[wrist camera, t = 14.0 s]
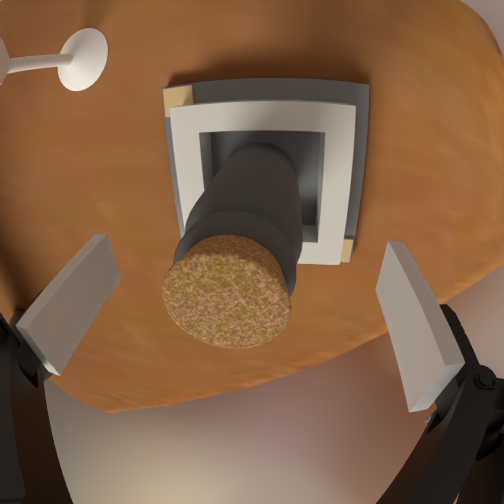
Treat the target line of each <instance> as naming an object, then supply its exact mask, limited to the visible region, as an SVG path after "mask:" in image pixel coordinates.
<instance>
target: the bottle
mask: <svg viewBox="0 0 504 504" xmlns="http://www.w3.org/2000/svg"><path fill="white" fill-rule="evenodd" d="M302 244H303V230H302V218H301V207H300V197H299V188H298V179H297V172H296V169H295V166H294V163H293V161H292V160H291V158H290V157H289V156H288V155H287V154H286V153H285V152H284V151H283V150H282V149H280V148H278V147H276V146H274V145H272V144H268V143H252V144H248V145H246V146H243V147H241V148H240V149H238V150H237V151H236V152H235V153H234V154H233V155H232V156H231V157H230V158H229V159H228V160H227V162H226V163H225V164H224V166H223V167H222V168H221V169H220V171H219V172H218V173H217V175H216V176H215V177H214V179H213V180H212V181H211V183H210V184H209V185H208V187H207V188H206V189H205V191H204V192H203V193H202V195H201V196H200V198H199V199H198V200H197V202H196V203H195V205H194V207H193V208H192V210H191V211H190V213H189V216H188V218H187V221H186V225H185V234H184V236H183V237H182V239H181V240H180V242H179V244H178V246H177V248H176V251H175V255H174V262H173V266H172V267H171V268H170V269H169V270H168V272H167V274H166V276H165V279H164V282H163V285H162V296H163V301H164V304H165V307H166V309H167V311H168V313H169V315H170V316H171V318H172V319H173V320H174V321H175V322H176V323H177V325H178V326H179V327H181V328H182V329H183V330H184V331H185V332H187V333H188V334H190V335H191V336H193V337H195V338H196V339H198V340H201V341H203V342H205V343H208V344H211V345H215V346H218V347H224V348H250V347H254V346H258V345H261V344H264V343H266V342H268V341H270V340H272V339H273V338H275V337H276V336H277V335H278V334H279V333H280V332H281V331H282V330H283V329H284V327H285V326H286V324H287V322H288V320H289V317H290V313H291V301H290V296H291V294H292V292H293V290H294V287H295V283H296V264H297V262H298V260H299V258H300V255H301V252H302Z"/></svg>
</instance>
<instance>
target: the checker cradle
mask: <svg viewBox="0 0 504 504" xmlns="http://www.w3.org/2000/svg"><path fill="white" fill-rule="evenodd" d="M162 93H163V105H164V116H165V126H166V135H167V144H168V153H169V161H170V168H171V176H172V183H173V190H174V197H175V203H176V210H177V216H178V222H179V228H180V234H181V239H182V237H183V236H184V234H185V225H186V221H187V218H188V216H189V213H190V211H191V210H192V208H193V207H194V205H195V203H196V202H197V200H198V199H199V198H200V196H201V195H202V193H203V192H204V191H205V189H206V188H207V187H208V185H209V184H210V183H211V181H212V180H213V179H214V177H215V176H216V175H217V173H218V172H219V171H220V169H221V168H222V167H223V166H224V164H225V163H226V162H227V160H228V159H229V158H230V157H231V156H232V155H233V154H234V153H235V152H236V151H237V150H238V149H240V148H241V147H243V146H246V145H248V144H252V143H268V144H272V145H274V146H276V147H278V148H280V149H282V150H283V151H284V152H285V153H286V154H287V155H288V156H289V157H290V158H291V160H292V161H293V163H294V166H295V169H296V172H297V179H298V188H299V197H300V207H301V218H302V230H303V244H302V252H301V255H300V258H299V260H298V262H297V263H299V264H328V265H340V262H351V257H352V252H353V246H354V240H355V234H356V228H357V222H358V215H359V208H360V201H361V193H362V185H363V176H364V166H365V156H366V144H367V130H368V112H369V84H362V83H354V82H345V81H335V80H322V79H306V78H243V79H226V80H214V81H204V82H195V83H187V84H179V85H172V86H166V87H162Z"/></svg>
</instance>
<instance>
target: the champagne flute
mask: <svg viewBox="0 0 504 504" xmlns="http://www.w3.org/2000/svg"><path fill="white" fill-rule="evenodd" d="M107 56H108V45H107V41H106V39H105V37H104V35H103V34H102V33H101V32H100V31H99V30H97V29H94V28H86V29H82V30H80V31H78V32H76V33H75V34H73V35H72V36H71V37H70V38H69V39H68V40H67V42H66V43H65V44H64V46H63V48H62V50H61V53H60V54H52V55H38V56H28V57H19V58H11V59H9V55H8V53H7V50H6V47H5V45H4V42H3V40H2V39H1V37H0V86H1V84H2V83H3V81H4V79H5V77H6V75H7V74H8V73H13V72H19V71H25V70H31V69H38V68H47V67H56V66H58V75H59V78H60V80H61V82H62V84H63V85H64V86H65V87H66V88H67V89H70V90H72V91H81V90H84V89H86V88H88V87H89V86H91V85H92V84H93V83H94V82H95V81H96V80H97V79H98V78H99V76H100V75H101V73H102V71H103V69H104V67H105V65H106V61H107Z"/></svg>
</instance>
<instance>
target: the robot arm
mask: <svg viewBox="0 0 504 504" xmlns="http://www.w3.org/2000/svg"><path fill="white" fill-rule="evenodd" d="M120 280H121V277H120V274H119V272H118V269H117V266H116V263H115V259H114V256H113V253H112V250H111V247H110V243H109V240H108V237H107V234H95V235H94V236H93V237H92V238H91V239H90V240H89V241H88V242H87V243H86V244H85V245H84V246H83V247H82V248H81V249H80V250H79V251H78V252H77V254H76V255H75V256H74V257H73V258H72V259H71V260H70V261H69V262H68V263H67V264H66V265H65V266H64V267H63V269H62V270H61V271H60V272H59V273H58V274H57V275H56V276H55V278H54V279H53V280H52V281H51V282H50V283H49V284H48V286H47V287H46V288H45V289H43V290H42V291H41V292H40V293H39V294H38V295H37V297H36V298H35V299H34V301H32V303H31V304H30V305H29V307H28V308H27V309H26V310H25V311H22V310H18V311H16V312H15V314H14V315H13V316H12V318H11V319H10V323H9V325H8V323H7V322H6V320H5V319H4V317H3V315H2V314H1V313H0V504H73V502H72V499H71V497H70V494H69V491H68V488H67V486H66V482H65V480H64V476H63V473H62V470H61V467H60V463H59V460H58V456H57V452H56V448H55V445H54V440H53V436H52V432H51V427H50V422H49V416H48V411H47V405H46V399H45V391H44V384H43V383H44V381H45V380H46V379H47V378H49V377H50V376H51V375H52V374H53V373H54V374H56V375H59V376H61V374H62V372H63V371H64V369H65V367H66V365H67V363H68V362H69V360H70V358H71V357H72V355H73V353H74V351H75V350H76V348H77V346H78V345H79V343H80V341H81V340H82V338H83V336H84V335H85V333H86V331H87V330H88V328H89V327H90V325H91V323H92V322H93V320H94V319H95V317H96V316H97V314H98V313H99V311H100V309H101V308H102V306H103V305H104V303H105V302H106V300H107V299H108V297H109V296H110V294H111V293H112V291H113V290H114V289H115V287H116V286H117V284H118V283H119V281H120ZM375 290H376V293H377V296H378V299H379V302H380V305H381V308H382V311H383V315H384V318H385V321H386V324H387V327H388V331H389V334H390V337H391V341H392V344H393V348H394V351H395V355H396V359H397V363H398V366H399V370H400V374H401V378H402V382H403V387H404V391H405V395H406V400H407V404H408V409H409V412H413V411H419V410H425V409H428V408H429V406H430V405H431V404H432V403H433V402H434V401H435V403H436V406H437V409H436V410H435V411H434V412H433V413H432V414H431V415H430V416H429V417H428V418H427V420H426V421H425V422H424V423H428V422H429V423H428V425H427V426H426V428H425V430H424V432H423V434H422V436H421V437H420V439H419V441H418V443H417V444H416V446H415V448H414V450H413V451H412V453H411V455H410V456H409V458H408V459H407V461H406V462H405V464H404V465H403V467H402V468H401V470H400V472H399V473H398V474H397V476H396V477H395V479H394V480H393V482H392V483H391V484H390V486H389V487H388V489H387V490H386V491H385V493H384V494H383V495H382V497H381V498H380V499H379V500H378V502H377V503H376V504H453V503H454V501H455V499H456V497H457V496H458V494H459V496H458V499H457V503H456V504H504V379H501V378H496V375H495V374H494V372H493V371H492V370H491V369H489V368H488V367H486V366H483V365H480V364H479V362H478V360H477V358H476V355H475V353H474V350H473V348H472V346H471V344H470V342H469V339H468V337H467V335H466V334H465V331H464V329H463V327H462V326H461V323H460V321H459V319H458V317H457V315H456V313H455V312H454V311H453V310H452V309H451V308H450V307H449V306H448V305H447V304H442V305H439V304H438V302H437V300H436V298H435V296H434V294H433V292H432V291H431V289H430V287H429V285H428V283H427V281H426V280H425V278H424V276H423V274H422V272H421V271H420V269H419V267H418V265H417V264H416V262H415V260H414V259H413V257H412V255H411V254H410V252H409V250H408V249H407V247H406V245H405V244H404V242H402V241H388V243H387V247H386V251H385V255H384V259H383V263H382V267H381V271H380V275H379V279H378V282H377V286H376V289H375ZM459 492H460V493H459Z"/></svg>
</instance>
